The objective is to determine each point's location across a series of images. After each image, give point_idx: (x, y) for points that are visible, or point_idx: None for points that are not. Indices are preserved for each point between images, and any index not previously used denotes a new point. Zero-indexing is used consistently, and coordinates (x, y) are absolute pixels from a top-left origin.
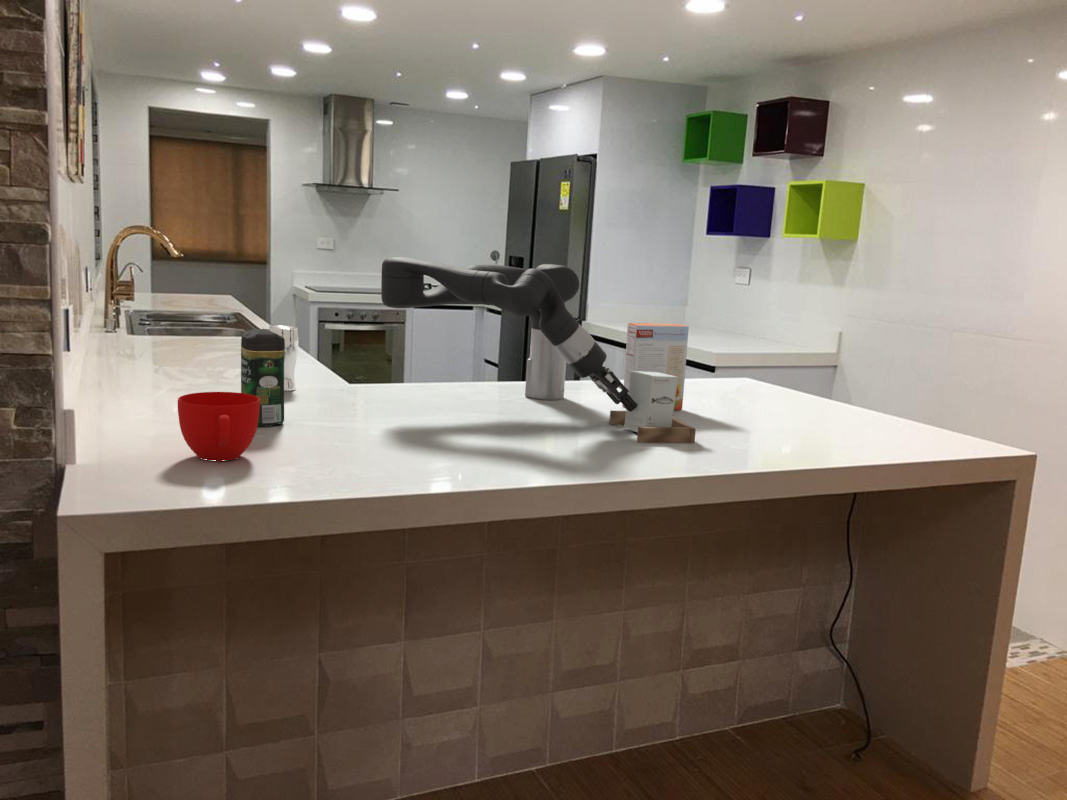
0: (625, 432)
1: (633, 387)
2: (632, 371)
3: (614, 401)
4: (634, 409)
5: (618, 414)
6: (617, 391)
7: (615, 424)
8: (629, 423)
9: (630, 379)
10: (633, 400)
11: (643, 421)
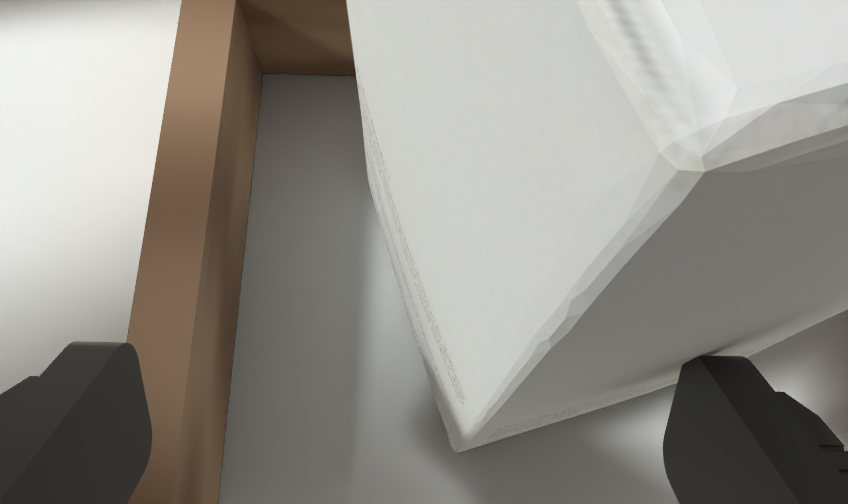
0: (554, 475)
1: (703, 319)
2: (773, 125)
3: (126, 499)
4: (652, 379)
5: (190, 422)
6: (45, 454)
7: (222, 455)
8: (544, 425)
9: (597, 305)
10: (788, 414)
11: (770, 343)
